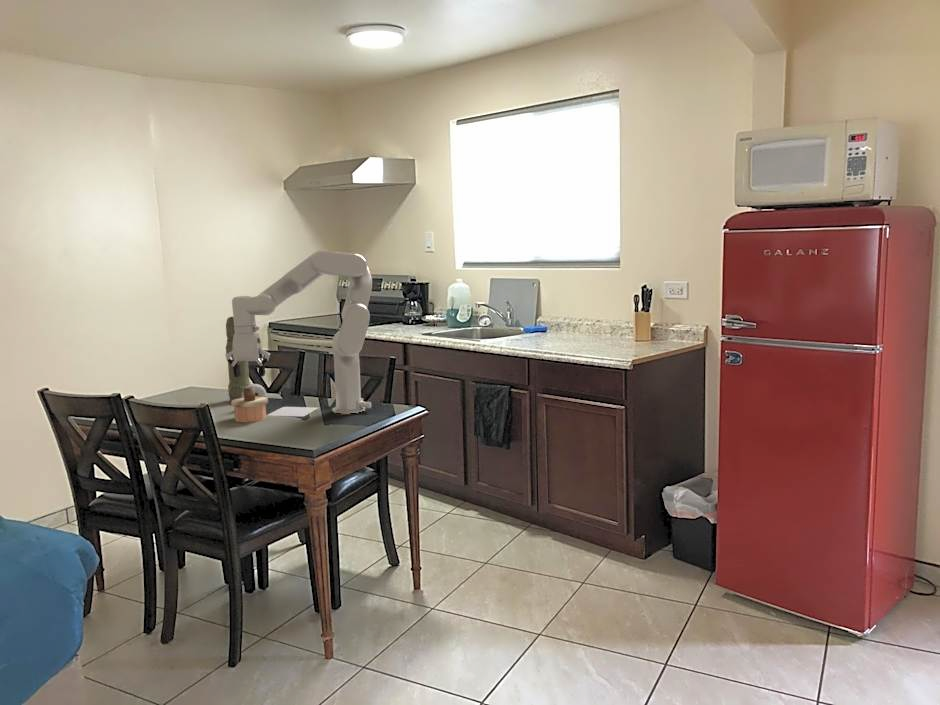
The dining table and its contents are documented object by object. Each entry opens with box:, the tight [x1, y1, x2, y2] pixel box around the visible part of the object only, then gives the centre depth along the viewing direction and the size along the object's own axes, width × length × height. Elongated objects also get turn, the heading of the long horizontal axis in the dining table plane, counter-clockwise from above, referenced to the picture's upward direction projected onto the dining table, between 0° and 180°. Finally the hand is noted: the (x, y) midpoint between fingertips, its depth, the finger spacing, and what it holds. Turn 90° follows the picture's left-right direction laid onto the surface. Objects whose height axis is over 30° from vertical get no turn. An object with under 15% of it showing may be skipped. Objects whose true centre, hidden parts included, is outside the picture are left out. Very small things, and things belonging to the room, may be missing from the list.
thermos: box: [225, 316, 252, 403], centre depth 304 cm, size 9×12×35 cm
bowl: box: [233, 404, 267, 423], centre depth 273 cm, size 11×11×6 cm
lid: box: [231, 387, 269, 408], centre depth 272 cm, size 13×13×6 cm
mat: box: [266, 406, 319, 418], centre depth 284 cm, size 15×15×1 cm
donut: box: [241, 383, 268, 398], centre depth 291 cm, size 10×4×10 cm, turn 125°
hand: (249, 376), depth 271 cm, fingers open, 9 cm apart
